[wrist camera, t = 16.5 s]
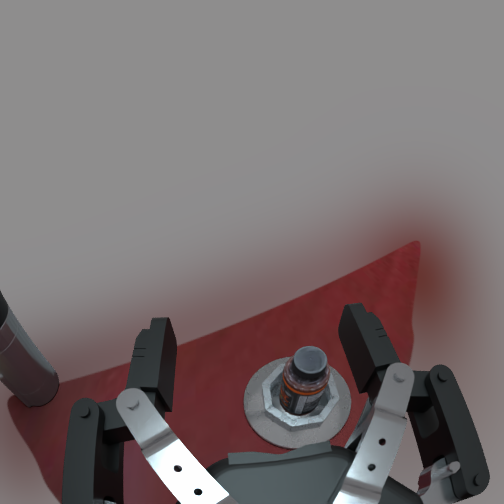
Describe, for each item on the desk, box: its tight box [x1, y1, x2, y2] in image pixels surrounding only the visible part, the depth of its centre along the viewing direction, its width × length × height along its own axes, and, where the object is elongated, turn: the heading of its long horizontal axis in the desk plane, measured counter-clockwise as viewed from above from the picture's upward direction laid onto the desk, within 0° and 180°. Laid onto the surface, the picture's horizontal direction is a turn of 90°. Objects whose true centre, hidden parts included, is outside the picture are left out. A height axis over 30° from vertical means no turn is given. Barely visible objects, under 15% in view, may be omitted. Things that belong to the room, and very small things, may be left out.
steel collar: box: [244, 357, 351, 450], centre depth 37 cm, size 16×16×4 cm
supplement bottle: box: [279, 346, 330, 416], centre depth 34 cm, size 6×6×11 cm
